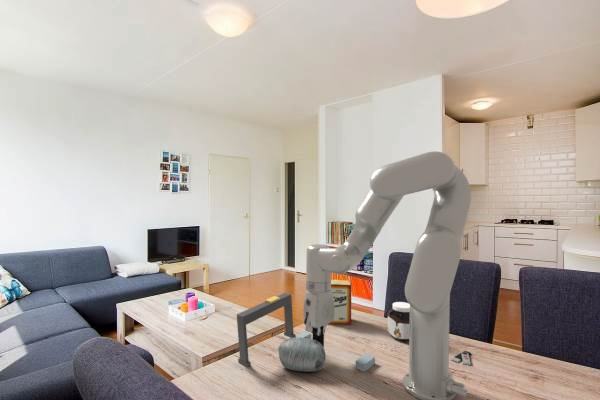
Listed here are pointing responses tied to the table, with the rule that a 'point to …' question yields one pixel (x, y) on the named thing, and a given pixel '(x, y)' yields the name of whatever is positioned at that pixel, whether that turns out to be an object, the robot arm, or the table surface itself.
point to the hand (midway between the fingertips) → (318, 346)
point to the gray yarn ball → (302, 354)
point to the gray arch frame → (257, 313)
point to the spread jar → (399, 321)
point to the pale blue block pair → (361, 363)
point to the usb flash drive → (463, 358)
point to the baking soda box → (341, 302)
